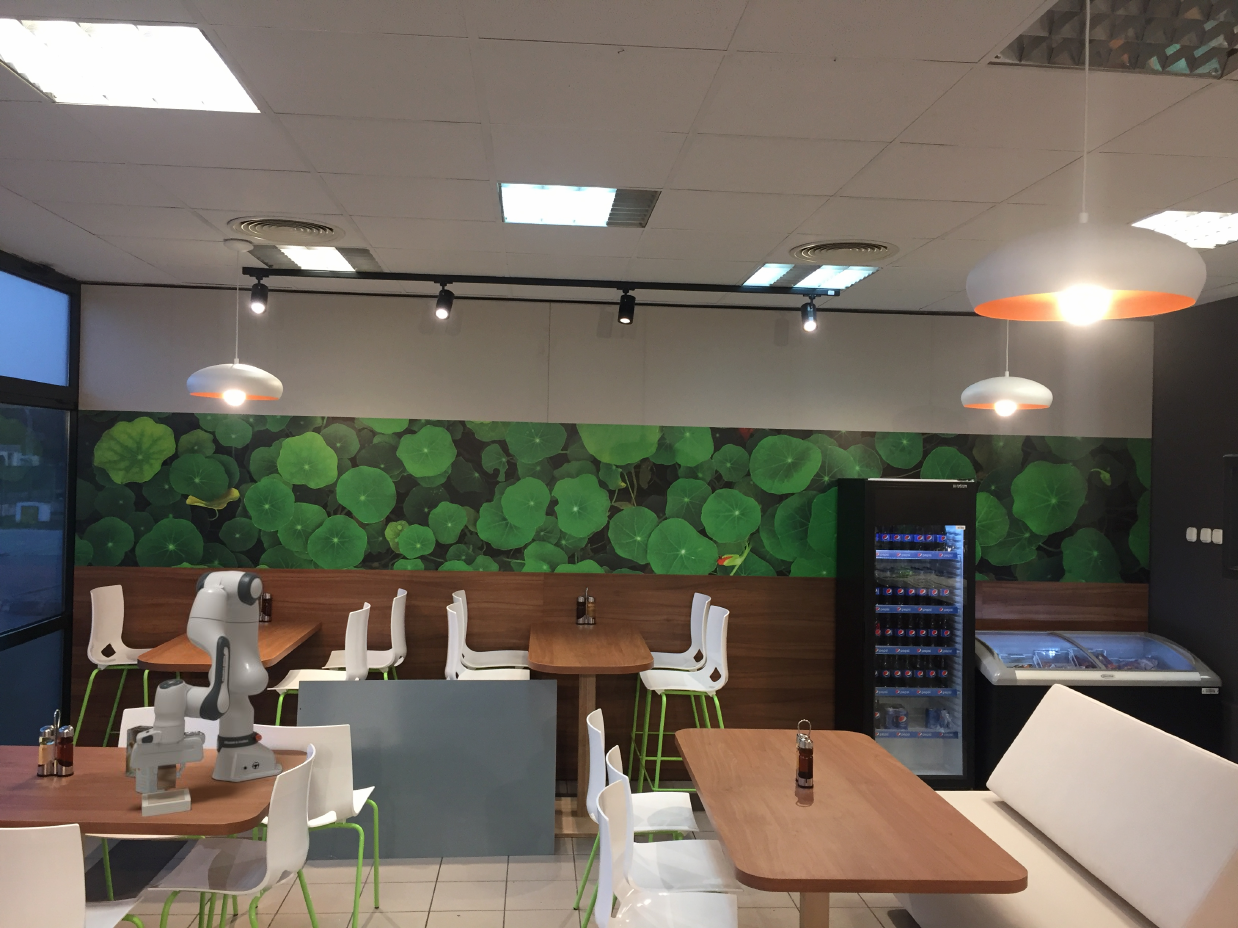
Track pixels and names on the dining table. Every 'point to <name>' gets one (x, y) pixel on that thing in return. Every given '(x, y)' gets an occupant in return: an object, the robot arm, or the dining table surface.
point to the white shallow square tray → (165, 802)
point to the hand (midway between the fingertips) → (166, 779)
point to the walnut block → (166, 777)
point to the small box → (146, 781)
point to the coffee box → (131, 742)
